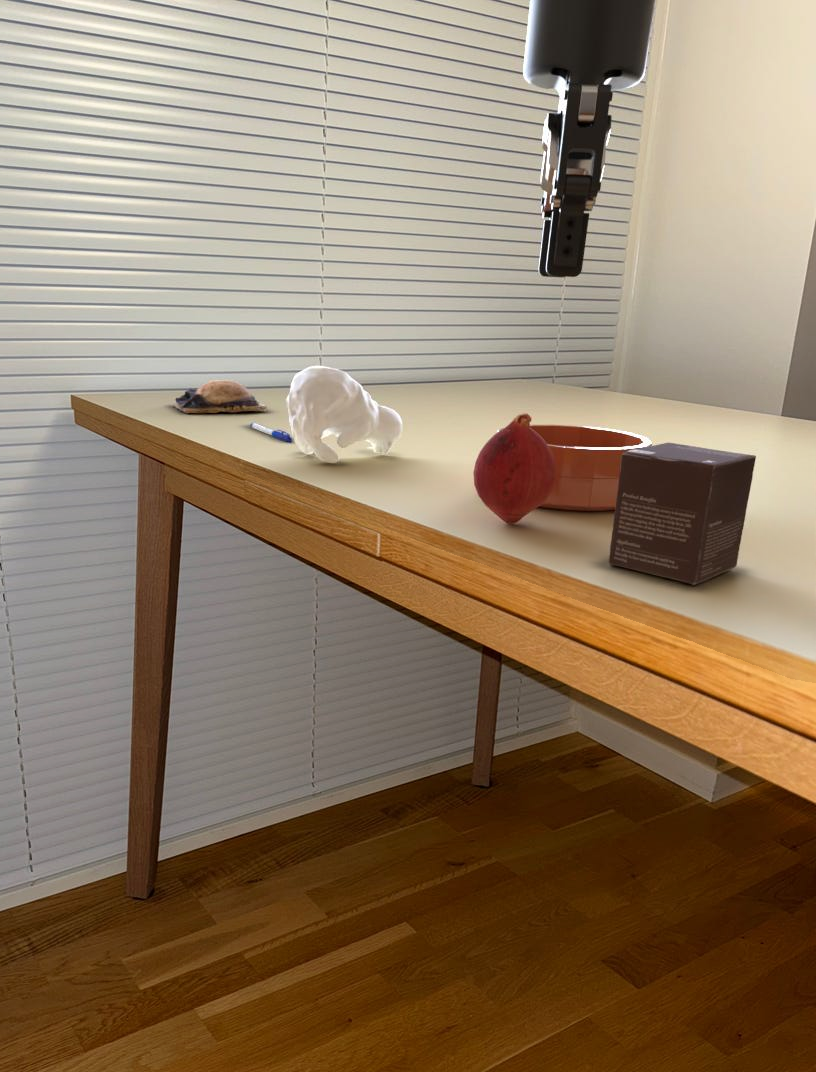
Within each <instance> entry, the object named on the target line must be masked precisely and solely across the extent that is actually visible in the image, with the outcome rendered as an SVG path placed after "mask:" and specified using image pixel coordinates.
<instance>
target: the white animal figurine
mask: <svg viewBox="0 0 816 1072" xmlns="http://www.w3.org/2000/svg"><path fill="white" fill-rule="evenodd" d="M285 404H286V407H287V410H288V421H289V425H290V428H291V430H290V431H291V434H292V437H293V441H294V443H295V444H296V446H297V447H298V448H299V450H300V451H301V452H302V453H303V454H305V455H310V456H311V455H313V454H314V455H315V456H316V457H317V458H318V459H319V460H321V461H323V462H325V463H328V464H337V463H338V462H339V455H338V453H336V451H335V449H333V448H332V447H331V446H330V445H328V444H327V443H325V442H324V441H323V440H322V439H324V438H326V437H329V436H331V435H333V436H335V437H336V444H337V446H338V447H339V448H341V449H345V448H348V447H350V446H352V445H353V444H355V443H358V442H364V441H367V442H368V443H370V445H371V446H369V447H368V449H372V450H373V452H374V453H375V454H380V453H381V454H382V455H387V454H389V453H390V451H391V449H392V448H393V447H394V445H395V443H397V441H398V440H400V438H401V437H402V435H403V425H404V424H403V421H402V418H401V416H400V415H399V414H398V413H397V411H396V410H394V409H393V408H390V407H389V406H384V405H380V404H378V403H377V401H375V400H374V399H372V396H371V394H370V393H369V392H367V391H366V390H364V389H363V386H362V384H360V383H359V382H358V381H356V380H355V379H354V378H352V377H351V376H350V375H349V373H347V372H345V371H343V370H341V369H338V368H334V367H329V366H324V365H313V366H308V367H306V368H304V369H303V370H301V371H299V372H297V373H296V374H295V375H294V377H293V379H292V381H291V383H290V390H289V393H288V395H287V397H286V399H285Z"/></svg>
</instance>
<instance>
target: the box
mask: <svg viewBox="0 0 816 1072" xmlns="http://www.w3.org/2000/svg"><path fill="white" fill-rule="evenodd" d="M756 459H757V456H756V455H755V454H747V453H739V452H732V451H725V450H719V449H713V448H707V447H700V446H694V445H687V444H680V443H675V442H665V443H658V444H654V445H652V446H650V447H645V448H639V449H634V450H630V451H627V452H625V453H623V454H622V457H621V468H620V474H619V482H618V491H617V499H616V507H615V509H614V516H613V522H612V531H611V539H610V540H611V541H610V548H609V558H608V564H609V565H611V566H616V567H621V568H625V569H629V570H634V571H638V572H642V573H647V574H650V575H653V576H659V577H662V578H667V579H670V580H675V581H679V582H683V583H685V584H690V585H693V586H695V585H698V584H700V583H703V582H705V581H708V580H709V579H712V578H714V577H716V576H718V575H720V574H724V573H726V572H729V571H731V570H733V569H734V568H737V563H738V558H739V552H740V546H741V544H742V543H741V541H742V537H743V536H742V535H743V530H744V526H745V520H746V514H747V509H748V504H749V503H748V502H749V499H750V494H751V487H752V483H753V482H752V481H753V477H754V469H755V464H756Z"/></svg>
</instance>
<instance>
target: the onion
mask: <svg viewBox="0 0 816 1072" xmlns="http://www.w3.org/2000/svg"><path fill="white" fill-rule="evenodd" d="M531 422H532V417H531V415H530V414H528V413H527V412H522V413H519V414H517V415H516V416H515V417H514V418H513V419H512V420H511V421H510V423H509V424H507V425H506V426H505V427H503V429H502V428H501V429H502V430H500V431H499V432H498V431H497V432H496V433H495V434H493V436H492V437H490V438H489V439H488V440H487V442H486V443H485V444H484V445H483V447H482V448H481V450H480V451H479V453H478V455H477V458H476V460H475V462H474V469H473V485H474V487H475V490H476V493H477V496H478V497H479V499H481V501H482V502H483V504H484V505H485V506H486V507H487V509H489V510H490V511H491V512H492V513H494V515H496V516H497V517H498V518H500V520H502V521H503V522H504V523H505V524H511V525H512V524H516V523H518V522H520V521H521V520H522V519H523V518H524V517H525V516H527V515H528V514H530V513H531V512H533V511H534V510H536V509H538V508H539V507H540V505H541V504H542V503H543V502H544V501H546V499H547V498H548V496H549V495H550V493H551V492H552V490H553V486H554V483H555V479H556V466H555V461H554V457H553V455H552V453H551V450H550V448H549V447H548V445H547V443H546V442H545V441H544V440H543V438H542V437H541V436H540V435H539V434H538V433H536V432H535V431H534V430H533V429H532V428H530V425H531Z"/></svg>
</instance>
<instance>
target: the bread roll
mask: <svg viewBox="0 0 816 1072" xmlns="http://www.w3.org/2000/svg"><path fill="white" fill-rule="evenodd" d="M174 400H175V401H174V402H173V407H174V408H175V409H176V410H177V409H178V410H179V411H181V412H183V413H185V414H190V413H191V414H207V413H211V414H216V413H219V412H225V413H226V412H228V413H240V412H252V411H253V412H266V411H267V410H268V409H267V406H266V404H263V403H261V402H259V401H257V400H256V397H255V396H253V394H252V393H251V392H250V390H249V389H248V388H247V387H246V386H245V385H242V384H241V383H239V382H236V381H235V380H230V379H215V380H210V381H207V382H205V383H203V384H201V385H200V386H199V387H198V388H192V387H189V388H188V389H187V390H185V392H184V394H182V395H181V396H179V397H175V399H174Z"/></svg>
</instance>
